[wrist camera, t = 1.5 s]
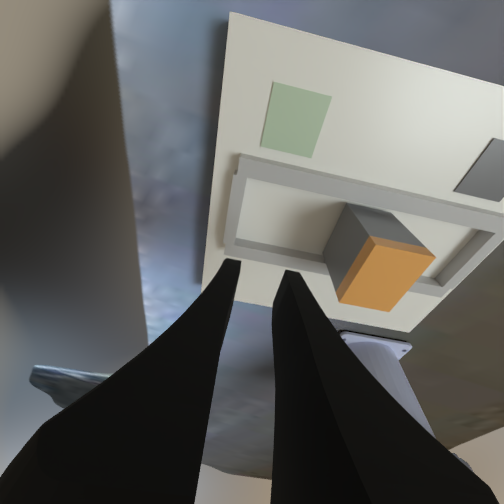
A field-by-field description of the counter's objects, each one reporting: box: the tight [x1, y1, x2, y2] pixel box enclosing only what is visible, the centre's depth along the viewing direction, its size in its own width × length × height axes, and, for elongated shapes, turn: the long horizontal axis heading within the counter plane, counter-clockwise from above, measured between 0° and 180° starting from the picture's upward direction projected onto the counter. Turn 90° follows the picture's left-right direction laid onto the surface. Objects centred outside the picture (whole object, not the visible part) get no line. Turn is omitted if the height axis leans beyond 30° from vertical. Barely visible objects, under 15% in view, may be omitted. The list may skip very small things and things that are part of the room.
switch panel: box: [201, 11, 504, 332], centre depth 16 cm, size 18×20×2 cm
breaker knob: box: [322, 203, 436, 312], centre depth 14 cm, size 4×3×5 cm
